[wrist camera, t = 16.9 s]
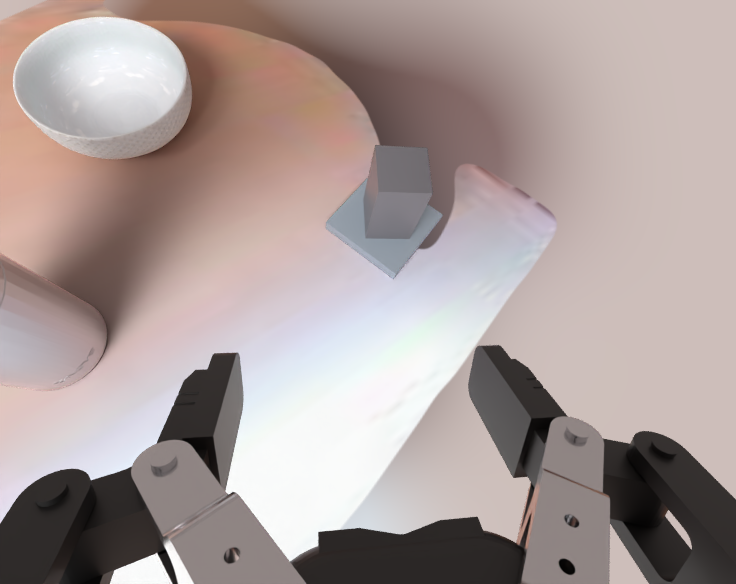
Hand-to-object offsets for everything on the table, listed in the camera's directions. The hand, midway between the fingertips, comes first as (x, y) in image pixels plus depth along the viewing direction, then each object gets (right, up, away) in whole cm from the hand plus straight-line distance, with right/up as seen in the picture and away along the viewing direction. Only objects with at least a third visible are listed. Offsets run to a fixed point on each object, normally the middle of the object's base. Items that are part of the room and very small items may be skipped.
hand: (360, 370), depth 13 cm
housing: (+2, +11, +33) cm, 35 cm away
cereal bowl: (-29, +23, +35) cm, 51 cm away
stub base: (+2, +11, +35) cm, 36 cm away
